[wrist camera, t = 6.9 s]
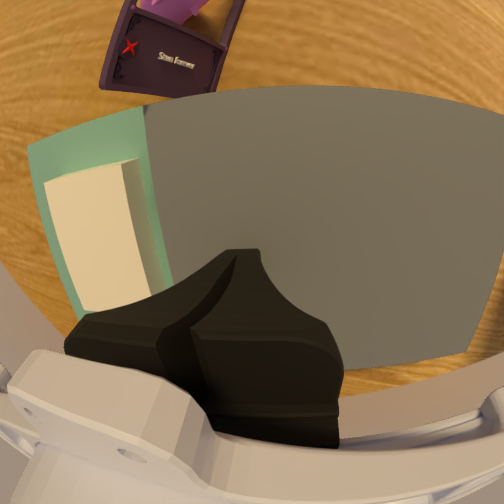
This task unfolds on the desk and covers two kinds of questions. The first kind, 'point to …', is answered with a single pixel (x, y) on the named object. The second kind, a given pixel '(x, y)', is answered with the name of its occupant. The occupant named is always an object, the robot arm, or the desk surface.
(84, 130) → the mat
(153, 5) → the game card
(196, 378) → the robot arm
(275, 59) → the desk surface
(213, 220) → the plate
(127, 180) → the beige rectangular block
